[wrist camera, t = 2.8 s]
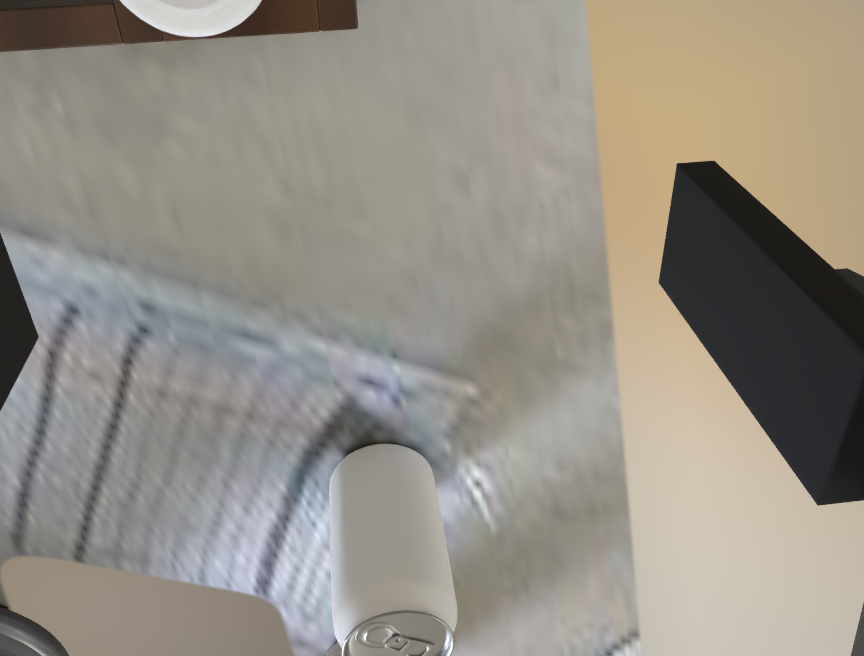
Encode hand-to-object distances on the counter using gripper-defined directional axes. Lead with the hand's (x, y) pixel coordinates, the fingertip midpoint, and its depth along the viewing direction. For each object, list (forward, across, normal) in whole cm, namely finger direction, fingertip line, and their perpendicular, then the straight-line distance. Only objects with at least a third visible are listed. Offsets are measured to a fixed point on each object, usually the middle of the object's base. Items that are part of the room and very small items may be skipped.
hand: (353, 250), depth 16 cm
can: (+22, 0, -28) cm, 35 cm away
